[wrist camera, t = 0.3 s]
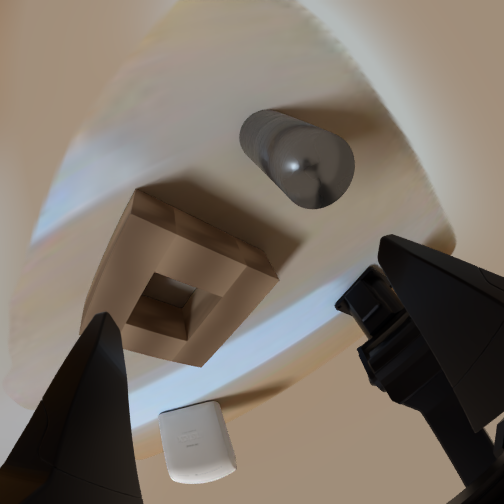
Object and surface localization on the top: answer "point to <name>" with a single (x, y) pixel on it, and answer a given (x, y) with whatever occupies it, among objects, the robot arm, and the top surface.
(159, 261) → the socket block
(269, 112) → the grey metal cylinder
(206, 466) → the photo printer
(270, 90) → the top surface
